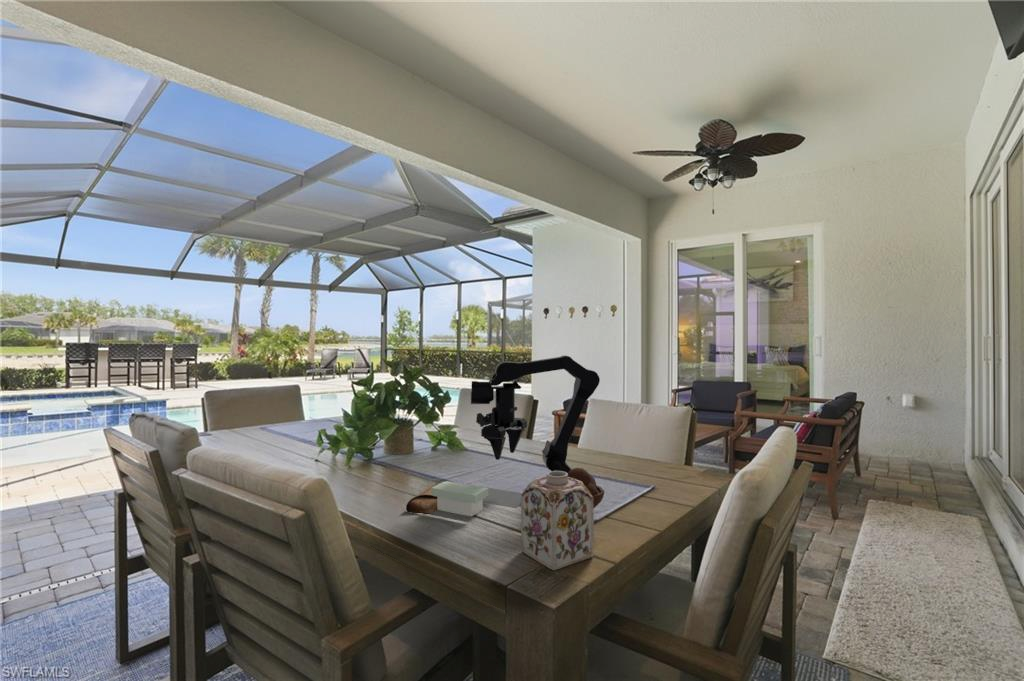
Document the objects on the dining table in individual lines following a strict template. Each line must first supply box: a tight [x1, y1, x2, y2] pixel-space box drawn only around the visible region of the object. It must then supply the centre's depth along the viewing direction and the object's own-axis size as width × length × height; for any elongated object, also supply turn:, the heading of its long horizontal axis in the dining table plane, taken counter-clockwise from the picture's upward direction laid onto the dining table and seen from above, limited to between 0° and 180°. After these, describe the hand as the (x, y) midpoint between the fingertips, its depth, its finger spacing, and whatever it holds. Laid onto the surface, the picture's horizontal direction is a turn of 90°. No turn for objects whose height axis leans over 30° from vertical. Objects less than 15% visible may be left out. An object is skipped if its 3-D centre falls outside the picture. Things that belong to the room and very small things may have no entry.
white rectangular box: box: [436, 496, 484, 517], centre depth 133 cm, size 11×6×4 cm, turn 63°
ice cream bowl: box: [567, 467, 605, 510], centre depth 122 cm, size 11×11×15 cm
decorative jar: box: [520, 470, 595, 571], centre depth 107 cm, size 12×12×18 cm
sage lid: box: [431, 480, 489, 503], centre depth 133 cm, size 14×7×2 cm, turn 63°
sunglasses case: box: [405, 482, 439, 515], centre depth 140 cm, size 18×7×7 cm, turn 163°
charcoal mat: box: [480, 486, 522, 509], centre depth 144 cm, size 18×12×1 cm, turn 63°
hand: (505, 456), depth 146 cm, fingers open, 9 cm apart
